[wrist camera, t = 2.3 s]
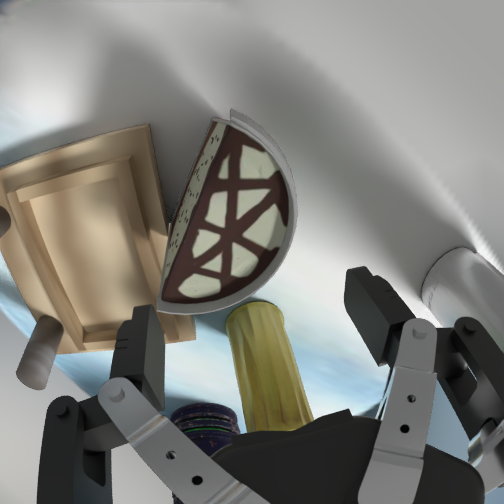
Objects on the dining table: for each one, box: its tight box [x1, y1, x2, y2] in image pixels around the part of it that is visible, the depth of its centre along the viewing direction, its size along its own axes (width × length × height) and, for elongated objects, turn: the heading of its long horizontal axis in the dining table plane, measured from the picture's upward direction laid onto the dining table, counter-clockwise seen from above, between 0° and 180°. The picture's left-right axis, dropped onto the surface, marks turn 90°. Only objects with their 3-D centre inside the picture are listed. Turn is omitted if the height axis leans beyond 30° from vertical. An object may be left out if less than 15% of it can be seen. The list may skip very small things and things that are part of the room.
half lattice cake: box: [157, 109, 298, 315], centre depth 21 cm, size 12×6×10 cm, turn 155°
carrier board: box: [0, 124, 196, 390], centre depth 23 cm, size 16×20×9 cm
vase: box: [225, 302, 314, 433], centre depth 27 cm, size 6×6×14 cm
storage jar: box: [170, 403, 240, 504], centre depth 36 cm, size 10×10×15 cm
